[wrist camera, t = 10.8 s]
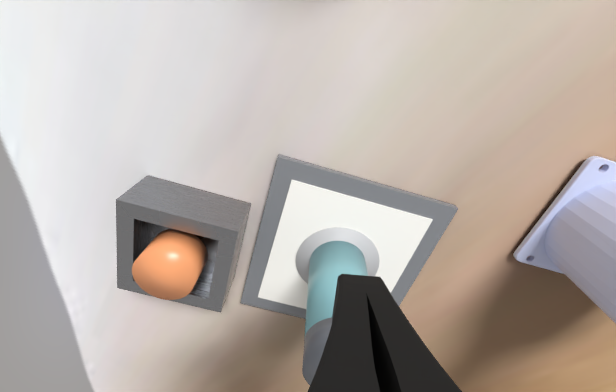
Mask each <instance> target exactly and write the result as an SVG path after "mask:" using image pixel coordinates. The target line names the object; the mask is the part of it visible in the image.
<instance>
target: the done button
mask: <svg viewBox="0 0 616 392" xmlns="http://www.w3.org/2000/svg"><path fill="white" fill-rule="evenodd" d="M207 260H208V252H207V249H206V247H205V245H204V243H203V242H202V241H201V240H200V239H199V238H198V237H197V236H195V235H194V234H191V233H187V232H183V231H179V230H176V229H167V230H164V231H162V232H160V233H159V234H158V235H157V236H156V237H155V238H154V239H153V240H152V241H151V243H150V244H149V245H148V246H147V247H146V248H145V250H144V251H143V252H142V253H141V254H140V255H139V257H138V258H137V259H136V260H135V261H134V263H133V266H132V275H133V278H134V280H135V282H136V283H137V284H138V285H139V287H140V288H142V289H143V290H144V291H145V292H147V293H148V294H150V295H152V296H154V297H157V298H160V299H165V300H177V299H181V298H183V297H185V296H187V295H188V294H189V293H190V292H191V291H192V289H193V287H194V285H195V283H196V281H197V280H198V278H199V276H200V274H201V272H202V270H203V268H204V266H205V264H206V262H207Z"/></svg>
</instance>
